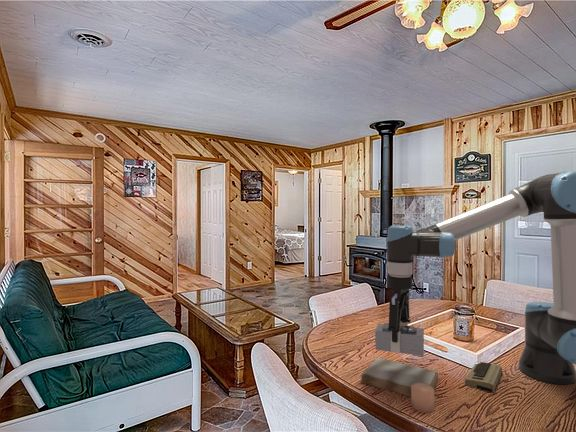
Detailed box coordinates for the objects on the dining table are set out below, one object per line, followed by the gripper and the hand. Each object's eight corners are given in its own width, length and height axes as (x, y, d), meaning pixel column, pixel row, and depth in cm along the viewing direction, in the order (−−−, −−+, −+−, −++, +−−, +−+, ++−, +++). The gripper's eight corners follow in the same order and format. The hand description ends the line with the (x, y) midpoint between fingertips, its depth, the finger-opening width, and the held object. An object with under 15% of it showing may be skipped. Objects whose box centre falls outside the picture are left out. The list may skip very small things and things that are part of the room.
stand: (438, 380, 110) (438, 371, 109) (428, 401, 98) (428, 391, 98) (376, 365, 121) (376, 356, 120) (361, 382, 109) (361, 373, 109)
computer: (475, 367, 119) (475, 357, 119) (502, 374, 114) (502, 364, 114) (464, 386, 107) (464, 375, 107) (494, 395, 102) (494, 383, 102)
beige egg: (436, 404, 97) (436, 386, 97) (431, 415, 92) (432, 396, 92) (414, 398, 100) (414, 380, 100) (408, 408, 95) (408, 390, 95)
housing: (375, 349, 108) (375, 328, 108) (378, 341, 115) (378, 321, 115) (423, 356, 103) (423, 333, 103) (423, 347, 109) (423, 326, 109)
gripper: (396, 268, 119) (396, 334, 120) (376, 279, 102) (376, 356, 102) (419, 270, 115) (419, 338, 115) (402, 282, 98) (402, 362, 98)
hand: (399, 346), depth 109 cm, fingers closed on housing, 8 cm apart
